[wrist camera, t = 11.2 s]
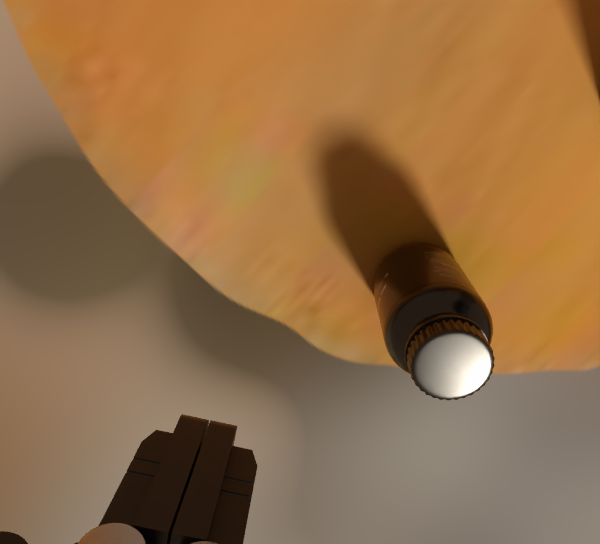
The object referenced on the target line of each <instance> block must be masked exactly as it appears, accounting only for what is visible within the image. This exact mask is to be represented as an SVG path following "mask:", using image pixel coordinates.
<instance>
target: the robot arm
mask: <svg viewBox="0 0 600 544" xmlns="http://www.w3.org/2000/svg"><path fill="white" fill-rule="evenodd" d="M208 424H209V426H208ZM236 430H237V426H235V425H230V424H225V423H221V422H216V421H210V423H209V420H206V419H201V418H197V417H192V416H187V415H183V414H182V415H181V416H180V419H179V421H178V424H177V425H176V428H175V430H174V433H169V432H163V431H159V430H156V431H155V432H153V433H152V434H151V435H150V436H148V437H147V438H146V439H145V440H143V441H142V442H141V444H140V446H139V448H138V450H137V452H136V454H135V456H134V459H133V460H132V462H131V464H130V466H129V468H128V470H127V473H126V474H125V476H124V478H123V479H122V481H121V484H120V485H119V487H118V489H117V491H116V493H115V495H114V498H113V499H112V501H111V503H110V505H109V507H108V509H107V511H106V513H105V515H104V517H103V519H102V521H101V522H100V524H99V526H98V527H96V528H94V529H92V530H90V531H89V532H88V533H86V534H85V535H84V536H83V537H82V538H81V540H80V541H79V542H78V543H75V544H243V540H244V535H245V529H246V524H247V518H248V513H249V508H250V502H251V497H252V492H253V485H254V481H255V476H256V470H257V464H256V461H255V458H254V455H253V451H252V450H249V449H244V448H240V447H235V446H233V444H234V440H235V435H236ZM0 544H28V543H27V542H26V541H25V539H23V538H22V537H20V536H19V535H17V534H15V533H11V532H3V531H2V532H0Z"/></svg>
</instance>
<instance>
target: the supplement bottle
mask: <svg viewBox="0 0 600 544" xmlns="http://www.w3.org/2000/svg"><path fill="white" fill-rule="evenodd" d="M373 287H374V296H375V301H376V305H377V310H378V314H379V319H380V323H381V327H382V332H383V336H384V340H385V344H386V347H387V350H388V352H389V354H390V356H391V358H392V359H393V361H394V362H395V363H396V364H397V365H398V366H399V367H400V368H401V369H402V370H404V371H405V372H407V373H409V374H410V375H411V378H412V379H413V380H414V382H415V385H416V386H418V387H419V388H420V390H421V391H424V392H425V393H426V395H431V396H432V397H433V398H439V399H441V400H442V399H446V400H451V399H455V400H457V399H459V398H465V397H466V396H468V395H472V394H473V393H474V392H476V391H478V390H479V389H480V387H482V386H484V385H485V383H486V382H487V381H488V380H489V378H490V375H491V374H492V369H493V367H494V363H493V362H494V356H493V350H492V348H491V346H490V344H491V341H492V335H493V324H492V318H491V315H490V313H489V310H488V308H487V307H486V305H485V303H484V302H483V300H482V299H481V297H480V296H479V294H478V293H477V291H476V290H475V288H474V287H473V285H472V284H471V282H470V281H469V279H468V278H467V276H466V275H465V273H464V272H463V270H462V269H461V267H460V266H459V265H458V263H457V262H456V260H455V259H454V258H453V257H452V256H451V255H450V254H449V253H448V252H446V251H445V250H443V249H442V248H440V247H437V246H435V245H431V244H425V243H415V244H409V245H406V246H403V247H400V248H398V249H396V250H395V251H393V252H392V253H390V254H389V255H388V256H387V257H386V258H385V259H384V260H383V261H382V262H381V264H380V265H379V267H378V269H377V271H376V274H375V277H374V284H373Z"/></svg>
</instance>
